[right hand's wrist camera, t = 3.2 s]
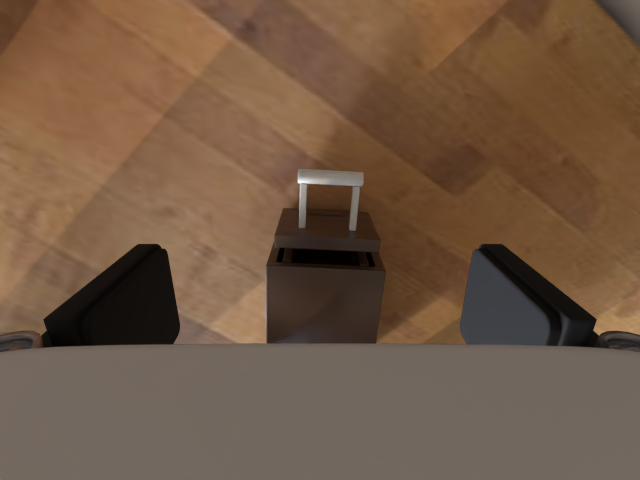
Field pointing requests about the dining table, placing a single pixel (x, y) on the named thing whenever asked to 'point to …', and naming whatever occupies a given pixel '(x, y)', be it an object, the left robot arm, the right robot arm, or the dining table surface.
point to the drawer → (327, 226)
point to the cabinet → (322, 301)
